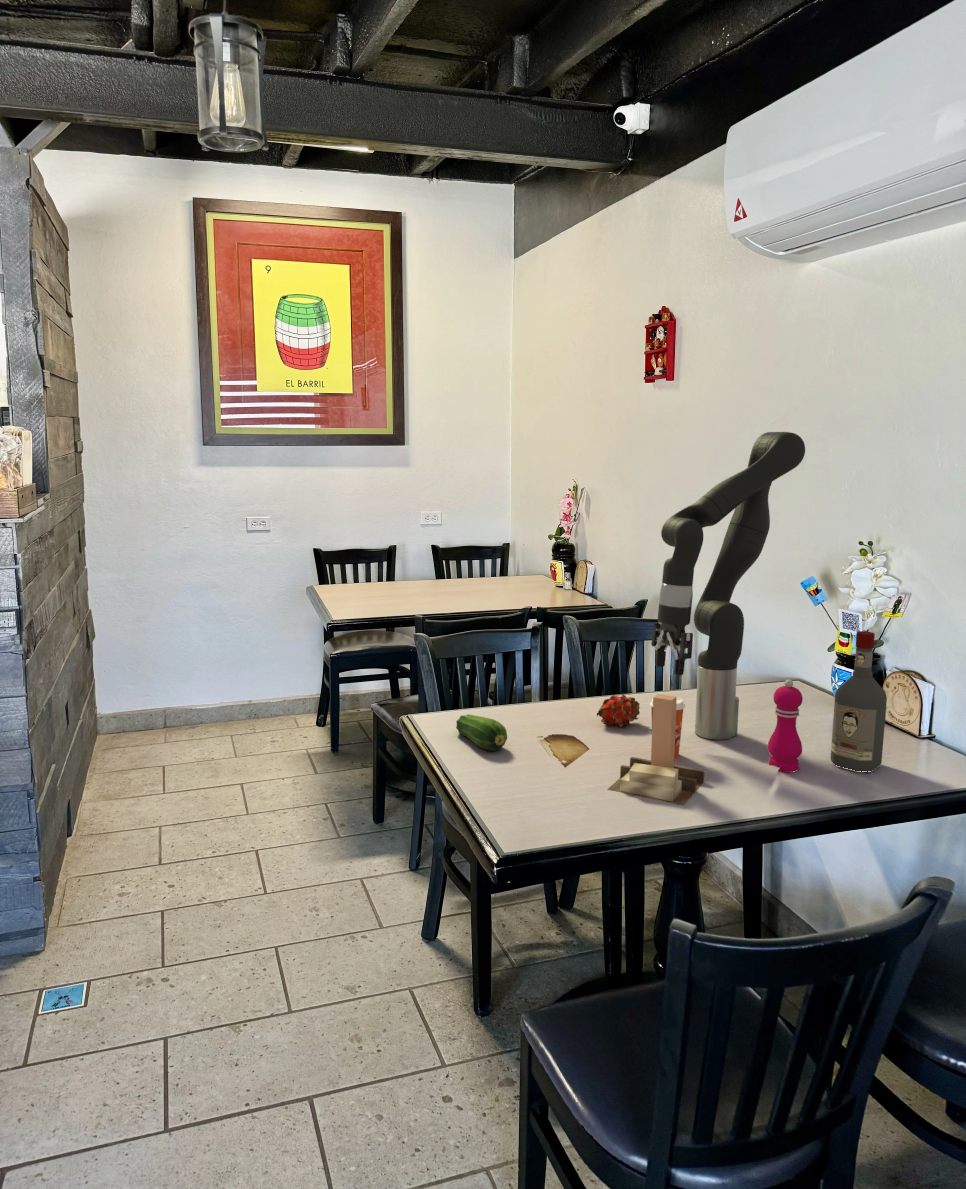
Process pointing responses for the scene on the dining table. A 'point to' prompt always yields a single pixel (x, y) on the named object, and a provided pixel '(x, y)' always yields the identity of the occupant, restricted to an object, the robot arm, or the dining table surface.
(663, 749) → the terracotta block
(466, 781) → the dining table surface
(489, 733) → the vegetable
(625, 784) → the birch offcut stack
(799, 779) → the dining table surface
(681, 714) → the paper cup
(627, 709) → the dragon fruit
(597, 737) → the dining table surface
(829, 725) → the dining table surface
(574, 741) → the parchment
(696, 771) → the walnut rack
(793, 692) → the pepper mill
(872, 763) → the liquor
